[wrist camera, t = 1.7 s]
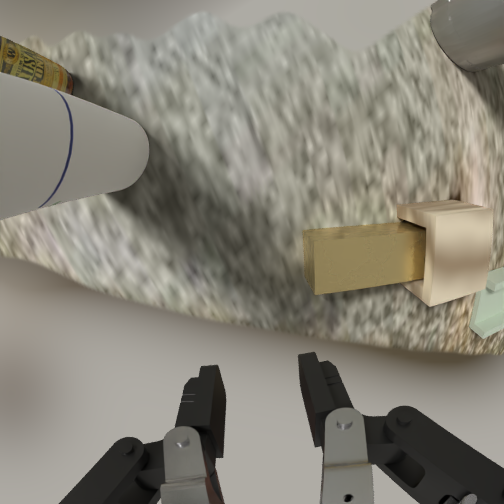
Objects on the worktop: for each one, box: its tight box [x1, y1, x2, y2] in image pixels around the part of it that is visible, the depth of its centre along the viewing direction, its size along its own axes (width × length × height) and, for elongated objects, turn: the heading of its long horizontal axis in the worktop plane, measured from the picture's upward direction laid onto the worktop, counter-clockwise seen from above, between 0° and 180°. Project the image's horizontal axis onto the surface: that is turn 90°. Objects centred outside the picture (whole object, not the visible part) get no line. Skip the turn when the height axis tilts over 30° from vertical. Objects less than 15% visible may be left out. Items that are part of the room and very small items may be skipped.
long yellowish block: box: [303, 222, 426, 295], centre depth 24 cm, size 4×18×4 cm, turn 95°
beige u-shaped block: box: [397, 200, 493, 307], centre depth 23 cm, size 8×8×7 cm
